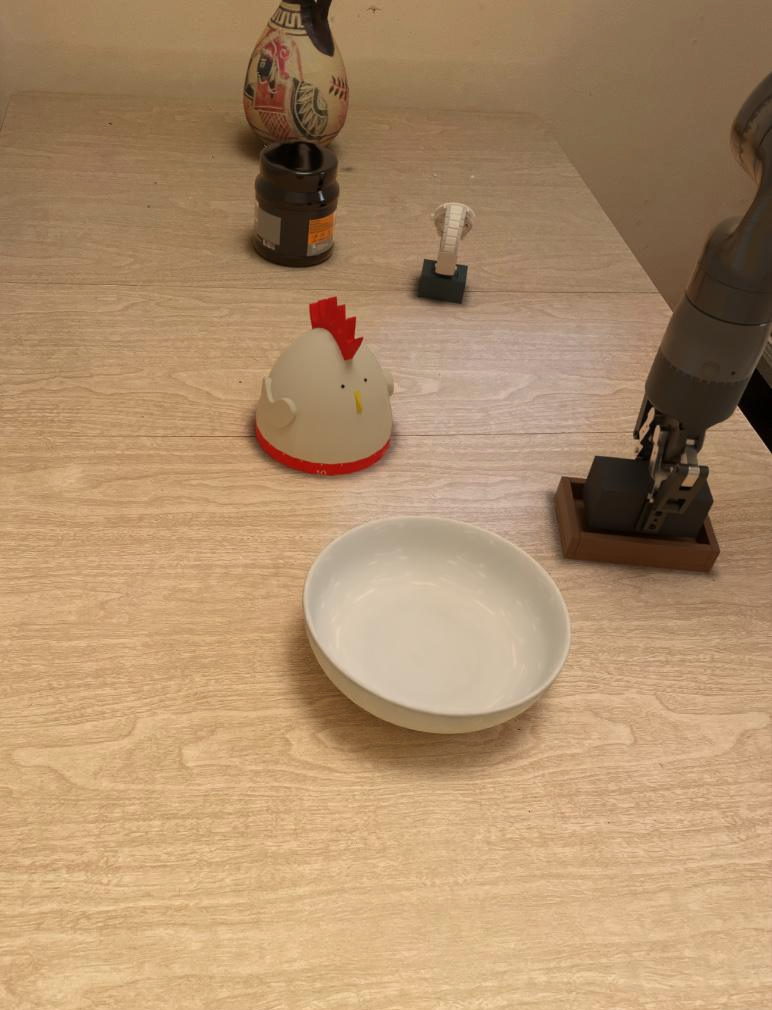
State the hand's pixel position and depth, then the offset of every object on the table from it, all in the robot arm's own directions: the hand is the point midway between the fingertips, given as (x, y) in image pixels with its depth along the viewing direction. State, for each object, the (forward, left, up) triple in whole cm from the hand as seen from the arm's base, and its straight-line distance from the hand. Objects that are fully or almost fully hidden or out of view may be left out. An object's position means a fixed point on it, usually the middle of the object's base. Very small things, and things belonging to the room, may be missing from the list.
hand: (640, 509), depth 89 cm
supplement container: (+36, -49, -3) cm, 61 cm away
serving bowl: (+20, +18, -3) cm, 27 cm away
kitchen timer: (+30, -11, -3) cm, 32 cm away
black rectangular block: (0, 0, -1) cm, 1 cm away
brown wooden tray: (0, 0, -3) cm, 3 cm away
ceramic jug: (+38, -79, -3) cm, 87 cm away
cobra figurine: (+17, -42, -3) cm, 45 cm away
